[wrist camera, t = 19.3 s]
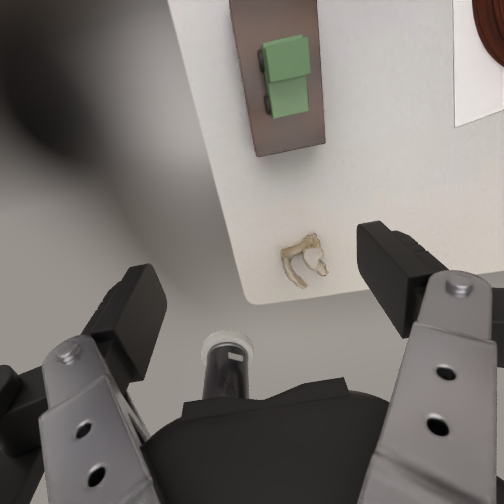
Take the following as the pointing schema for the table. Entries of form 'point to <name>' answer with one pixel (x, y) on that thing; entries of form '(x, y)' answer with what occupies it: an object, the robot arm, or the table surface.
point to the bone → (311, 258)
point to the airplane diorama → (478, 59)
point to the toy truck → (286, 75)
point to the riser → (248, 43)
